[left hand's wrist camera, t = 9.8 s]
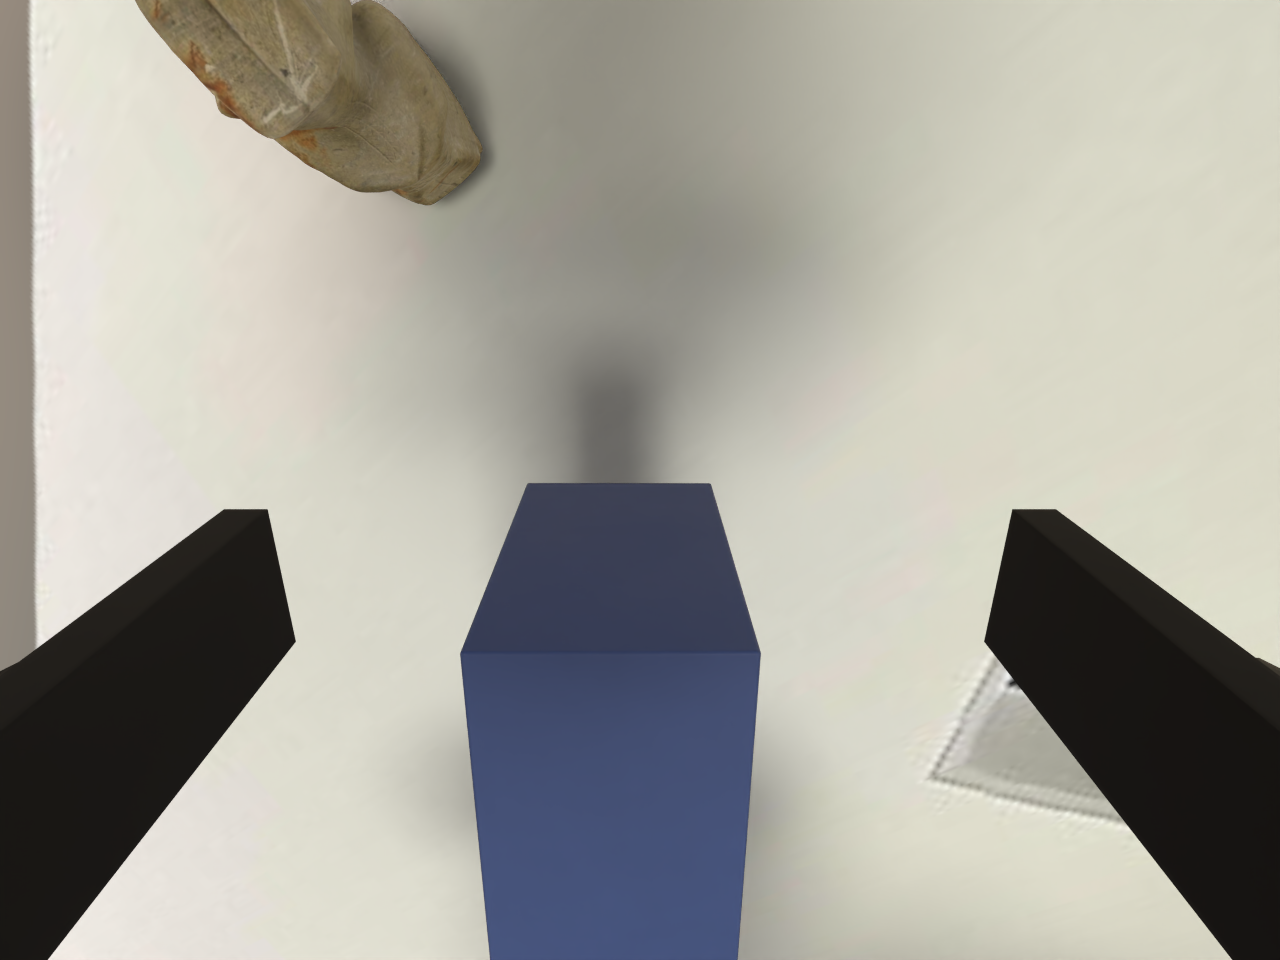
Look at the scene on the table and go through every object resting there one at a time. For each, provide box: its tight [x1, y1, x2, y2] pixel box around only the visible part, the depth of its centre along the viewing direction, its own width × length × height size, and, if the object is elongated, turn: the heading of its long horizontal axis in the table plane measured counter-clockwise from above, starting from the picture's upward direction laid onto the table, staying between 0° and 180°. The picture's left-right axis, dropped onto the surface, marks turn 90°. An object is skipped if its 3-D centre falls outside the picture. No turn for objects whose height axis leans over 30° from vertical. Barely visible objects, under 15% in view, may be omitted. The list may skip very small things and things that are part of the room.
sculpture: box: [135, 0, 483, 205], centre depth 25 cm, size 6×7×15 cm
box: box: [460, 483, 761, 960], centre depth 24 cm, size 28×6×10 cm, turn 0°
